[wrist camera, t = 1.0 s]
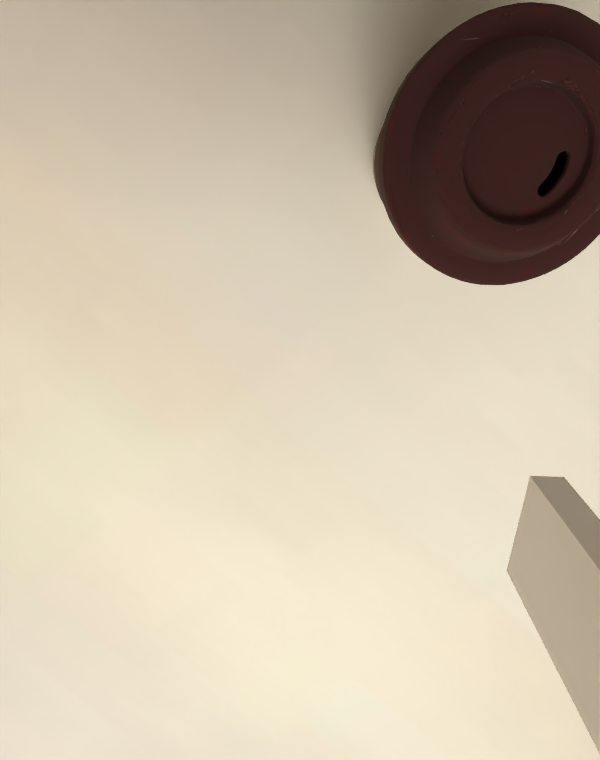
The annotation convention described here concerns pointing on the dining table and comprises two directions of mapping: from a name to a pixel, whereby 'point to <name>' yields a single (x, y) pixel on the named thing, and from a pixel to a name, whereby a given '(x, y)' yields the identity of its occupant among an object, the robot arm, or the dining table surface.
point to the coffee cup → (498, 146)
